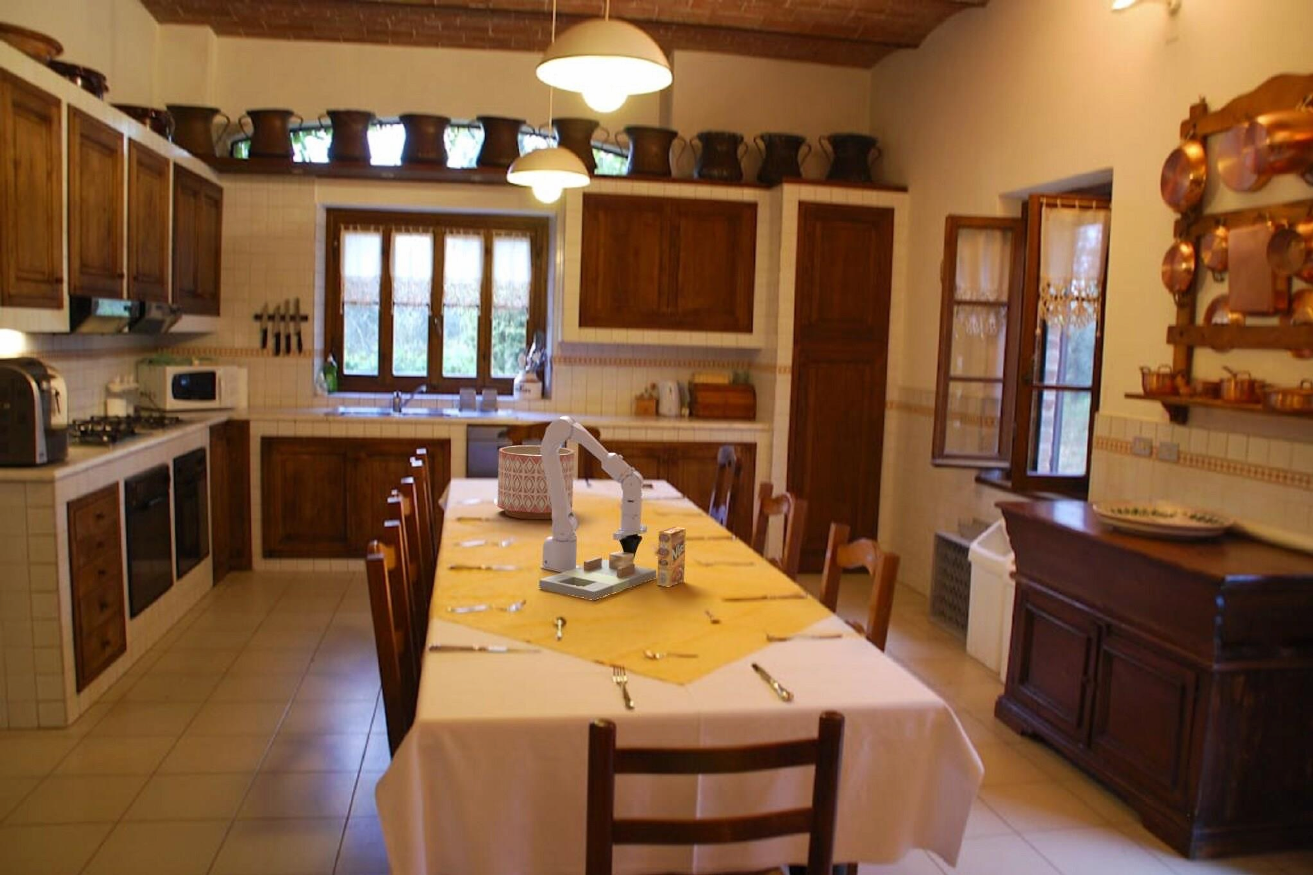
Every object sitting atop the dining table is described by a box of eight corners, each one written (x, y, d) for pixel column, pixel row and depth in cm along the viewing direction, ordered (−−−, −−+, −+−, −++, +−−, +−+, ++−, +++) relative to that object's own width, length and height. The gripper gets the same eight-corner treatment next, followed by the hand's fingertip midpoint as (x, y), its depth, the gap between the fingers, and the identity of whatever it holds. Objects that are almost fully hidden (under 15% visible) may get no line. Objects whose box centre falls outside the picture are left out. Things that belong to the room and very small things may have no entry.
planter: (488, 508, 372) (490, 445, 370) (557, 505, 384) (559, 444, 381) (509, 522, 348) (511, 456, 345) (582, 519, 359) (584, 454, 357)
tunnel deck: (539, 588, 265) (539, 570, 264) (604, 567, 290) (604, 551, 289) (593, 601, 255) (594, 582, 255) (656, 578, 280) (656, 561, 280)
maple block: (608, 567, 280) (609, 553, 280) (618, 564, 285) (619, 550, 284) (623, 570, 278) (624, 556, 277) (633, 567, 282) (633, 553, 281)
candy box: (669, 588, 271) (671, 533, 269) (655, 585, 273) (658, 531, 271) (684, 581, 278) (687, 528, 277) (671, 579, 280) (673, 526, 279)
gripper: (628, 519, 275) (626, 567, 276) (656, 512, 287) (654, 558, 288) (607, 516, 278) (606, 563, 280) (636, 509, 291) (634, 554, 292)
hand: (629, 560), depth 284 cm, fingers closed
